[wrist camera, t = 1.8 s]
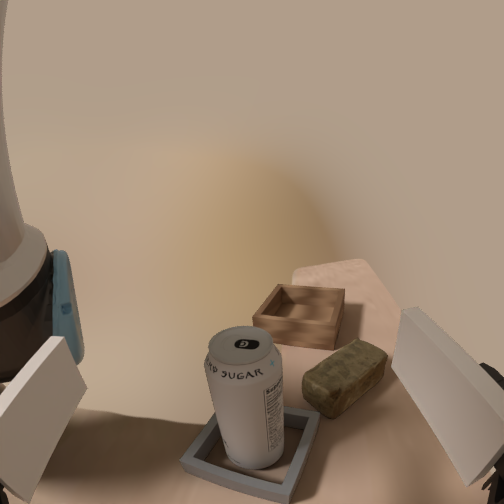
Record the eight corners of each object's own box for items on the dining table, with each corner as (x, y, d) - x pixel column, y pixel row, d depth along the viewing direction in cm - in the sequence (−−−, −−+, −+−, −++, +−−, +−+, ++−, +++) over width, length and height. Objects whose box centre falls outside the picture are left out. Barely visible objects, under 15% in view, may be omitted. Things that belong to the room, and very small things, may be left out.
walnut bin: (254, 340, 47) (252, 316, 45) (279, 304, 58) (278, 284, 57) (333, 350, 41) (335, 326, 40) (343, 310, 53) (344, 288, 52)
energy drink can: (236, 427, 29) (216, 319, 25) (288, 434, 27) (287, 323, 23) (219, 467, 23) (187, 361, 19) (278, 477, 22) (272, 372, 17)
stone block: (297, 401, 32) (298, 373, 31) (354, 361, 39) (357, 333, 37) (332, 425, 28) (336, 396, 26) (386, 376, 34) (392, 348, 33)
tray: (185, 471, 23) (179, 460, 22) (231, 406, 32) (228, 393, 32) (288, 504, 18) (289, 495, 18) (318, 425, 28) (320, 412, 27)
